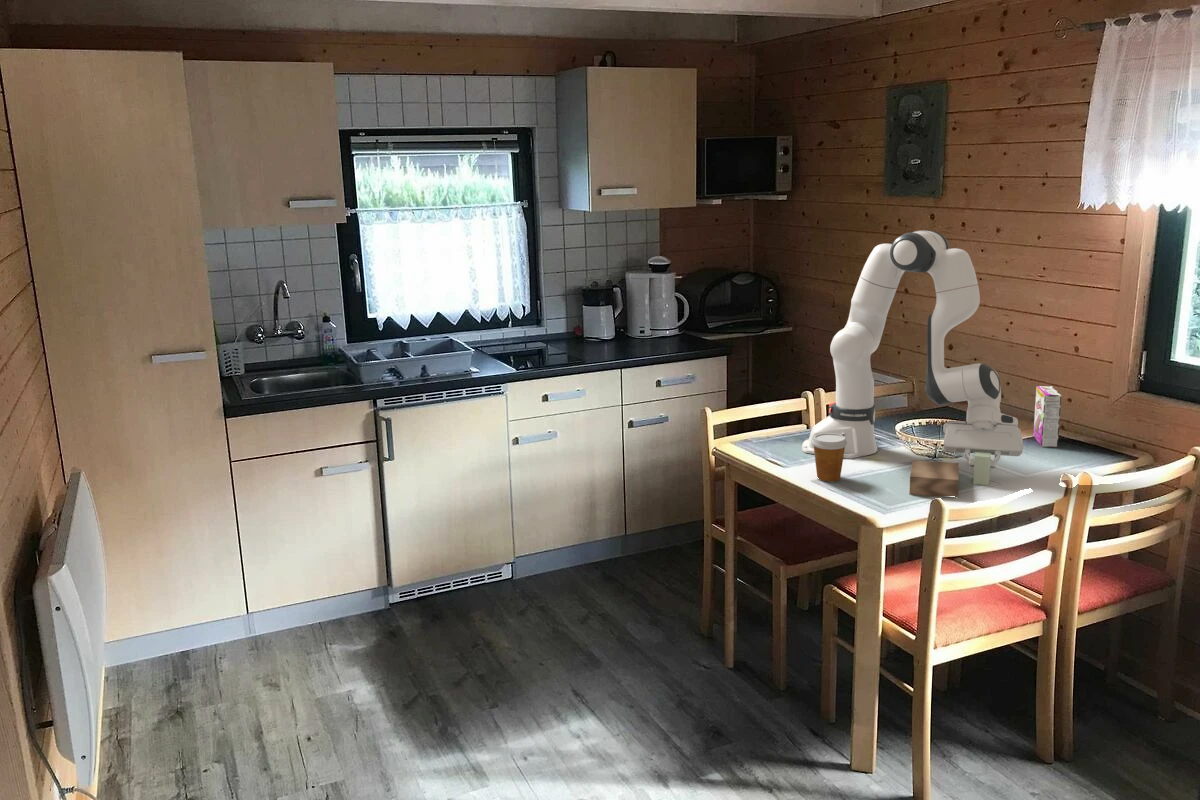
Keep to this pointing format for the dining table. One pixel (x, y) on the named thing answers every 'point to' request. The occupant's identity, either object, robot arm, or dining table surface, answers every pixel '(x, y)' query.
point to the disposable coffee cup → (829, 455)
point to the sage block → (981, 468)
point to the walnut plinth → (934, 478)
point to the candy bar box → (1047, 416)
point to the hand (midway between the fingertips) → (982, 466)
